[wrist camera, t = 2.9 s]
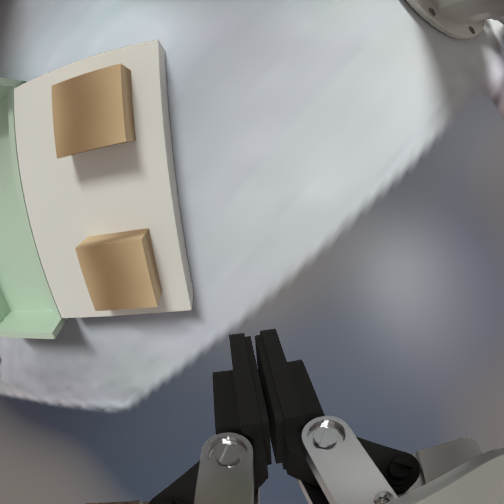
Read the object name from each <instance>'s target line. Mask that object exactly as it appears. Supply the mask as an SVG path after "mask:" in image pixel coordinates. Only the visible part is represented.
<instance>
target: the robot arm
mask: <svg viewBox="0 0 504 504" xmlns="http://www.w3.org/2000/svg"><path fill="white" fill-rule="evenodd" d="M406 1H407V2H408V3H409V4H410V6H411V7H412V8H413V9H414V10H415V11H416V12H417V13H418V14H419V15H420V16H421V17H423V18H424V19H425V20H426V21H427V22H429V23H430V24H431V25H432V26H434V27H435V28H437V29H438V30H439V31H441V32H443V33H445V34H447V35H449V36H450V37H454V38H457V39H470V38H475V37H477V36H479V34H480V33H481V32H482V30H483V27H484V20H486V19H493V20H498V21H499V22H501V23H502V24H504V0H406ZM229 338H230V347H231V356H232V364H233V370H230V371H221V372H214V373H213V390H214V391H213V392H214V412H215V428H216V435H214V436H213V437H211V438H210V439H208V440H207V442H206V443H205V444H204V446H203V448H202V452H201V458H200V461H199V462H198V463H197V464H195V465H194V466H193V467H192V468H190V469H189V470H188V471H187V472H186V473H185V474H183V475H182V476H181V477H180V478H178V479H177V480H176V481H175V482H174V483H172V484H171V485H170V486H169V487H167V488H166V489H164V490H163V491H162V492H161V493H159V494H158V495H157V496H155V497H154V498H153V499H152V500H151V501H145V502H140V501H139V500H137V501H126V502H112V503H87V504H259V487H260V486H261V485H262V484H263V483H264V482H265V481H266V479H267V478H268V470H267V465H270V464H271V447H270V438H271V443H272V447H273V452H274V456H275V460H276V463H282V465H283V469H286V470H287V474H289V475H290V476H292V477H294V478H297V479H298V483H299V485H300V487H301V489H302V491H303V493H304V495H305V497H306V499H307V501H308V503H309V504H504V447H502V448H497V449H494V450H491V451H488V452H485V453H483V454H482V452H481V449H480V447H479V445H478V443H477V442H476V441H475V440H473V439H472V438H468V437H466V438H460V439H457V440H454V441H451V442H448V443H444V444H440V445H437V446H433V447H430V448H426V449H421V450H418V451H417V452H416V453H413V454H409V453H406V452H402V451H399V450H396V449H392V448H389V447H385V446H382V445H379V444H376V443H373V442H370V441H367V440H364V439H361V438H358V437H356V436H355V435H354V433H353V432H352V430H351V429H350V428H349V426H348V425H347V424H346V423H345V422H344V421H343V420H341V419H339V418H337V417H332V416H325V415H324V413H323V410H322V408H321V405H320V403H319V400H318V398H317V395H316V393H315V390H314V388H313V385H312V383H311V381H310V378H309V376H308V373H307V371H306V368H305V366H304V363H303V361H302V360H297V361H291V362H287V361H286V358H285V355H284V353H283V349H282V347H281V344H280V341H279V338H278V335H277V332H276V329H270V330H263V331H260V335H256V336H255V343H256V354H257V364H256V360H255V355H254V351H253V346H252V342H251V337H250V336H249V337H245V336H244V333H241V334H233V335H229ZM257 365H258V369H257Z"/></svg>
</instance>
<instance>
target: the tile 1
mask: <svg viewBox="0 0 504 504" xmlns="http://www.w3.org/2000/svg"><path fill="white" fill-rule="evenodd" d="M52 113H53V127H54V138H55V147H56V155H57V159H58V158H62V157H67V156H71V155H75V154H79V153H83V152H87V151H91V150H95V149H99V148H103V147H107V146H112V145H116V144H121V143H126V142H131V141H136V136H135V126H134V115H133V102H132V86H131V70H130V69H128V68H127V67H125V66H124V65H122V64H121V63H120V64H116V65H112V66H109V67H105V68H102V69H98V70H95V71H92V72H89V73H85V74H82V75H79V76H76V77H74V78H71V79H68V80H65V81H63V82H60V83H57V84H55V85H52Z"/></svg>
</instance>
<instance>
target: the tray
mask: <svg viewBox="0 0 504 504" xmlns="http://www.w3.org/2000/svg"><path fill="white" fill-rule="evenodd" d="M24 83H26V81H20V80H14V79H7V78H0V337H12V338H33V339H55V338H56V337H57V335H58V333H59V332H60V330H61V329H62V327H63V326H64V324H65V322H66V321H67V319H68V318H62V317H61V315H60V312H59V310H58V307H57V305H56V302H55V300H54V297H53V295H52V292H51V289H50V287H49V284H48V281H47V278H46V275H45V272H44V269H43V266H42V263H41V260H40V257H39V254H38V250H37V247H36V243H35V240H34V236H33V232H32V229H31V225H30V221H29V216H28V212H27V207H26V203H25V198H24V193H23V187H22V182H21V175H20V169H19V162H18V154H17V144H16V133H15V117H14V88H16V87H18V86H20V85H22V84H24Z"/></svg>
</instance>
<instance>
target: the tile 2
mask: <svg viewBox="0 0 504 504" xmlns="http://www.w3.org/2000/svg"><path fill="white" fill-rule="evenodd" d="M75 250H76V253H77V257H78V260H79V264H80V267H81V270H82V273H83V277H84V280H85V283H86V286H87V289H88V292H89V295H90V298H91V300H92V303H93V306H94V309H95V311H107V310H123V309H137V308H150V307H158V304H159V300H160V297H161V294H162V288H161V283H160V279H159V275H158V270H157V266H156V261H155V256H154V252H153V247H152V242H151V237H150V231H149V228H146V229H139V230H131V231H124V232H117V233H110V234H104V235H97V236H90V237H87V238H86V239H85V240H83V241H82V242H81V243H80V244H79V245H78V246H77V247H76V248H75Z"/></svg>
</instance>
